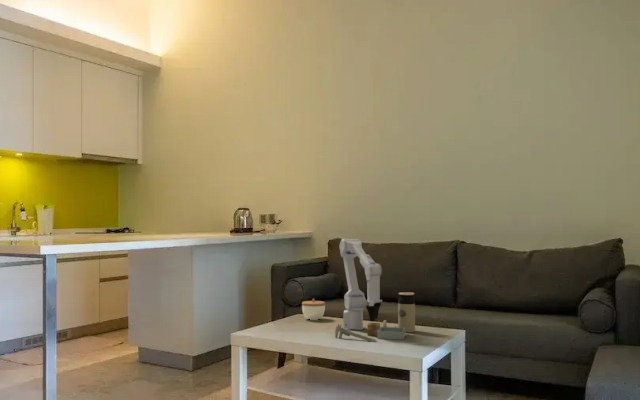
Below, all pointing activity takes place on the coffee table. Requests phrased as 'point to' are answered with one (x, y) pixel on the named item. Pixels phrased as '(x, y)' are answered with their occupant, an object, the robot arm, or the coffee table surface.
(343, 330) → the caliper
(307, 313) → the lidded bowl
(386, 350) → the coffee table surface
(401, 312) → the travel mug
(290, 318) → the coffee table surface
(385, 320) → the grey peg base
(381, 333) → the tray
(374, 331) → the block
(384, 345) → the coffee table surface
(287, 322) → the coffee table surface
